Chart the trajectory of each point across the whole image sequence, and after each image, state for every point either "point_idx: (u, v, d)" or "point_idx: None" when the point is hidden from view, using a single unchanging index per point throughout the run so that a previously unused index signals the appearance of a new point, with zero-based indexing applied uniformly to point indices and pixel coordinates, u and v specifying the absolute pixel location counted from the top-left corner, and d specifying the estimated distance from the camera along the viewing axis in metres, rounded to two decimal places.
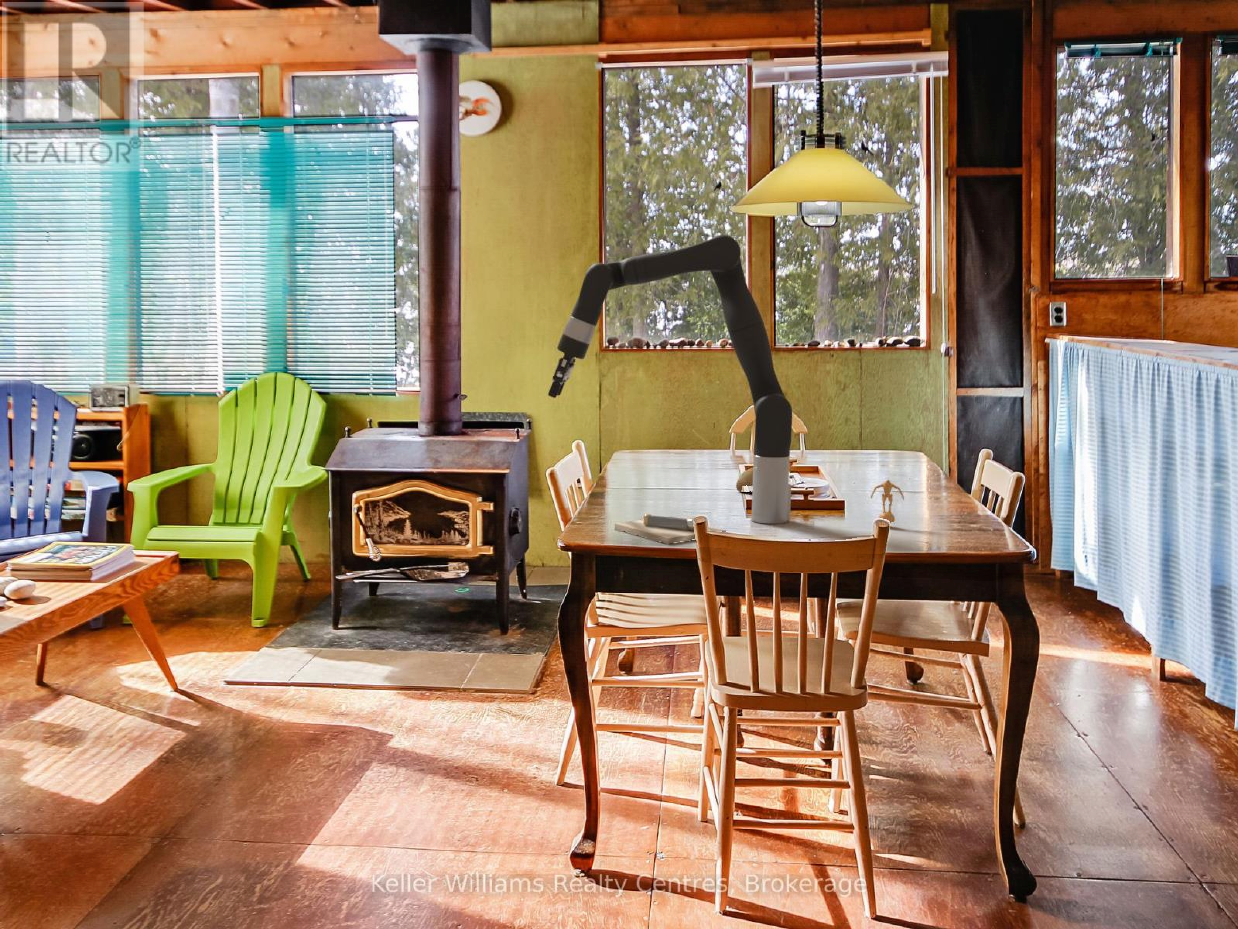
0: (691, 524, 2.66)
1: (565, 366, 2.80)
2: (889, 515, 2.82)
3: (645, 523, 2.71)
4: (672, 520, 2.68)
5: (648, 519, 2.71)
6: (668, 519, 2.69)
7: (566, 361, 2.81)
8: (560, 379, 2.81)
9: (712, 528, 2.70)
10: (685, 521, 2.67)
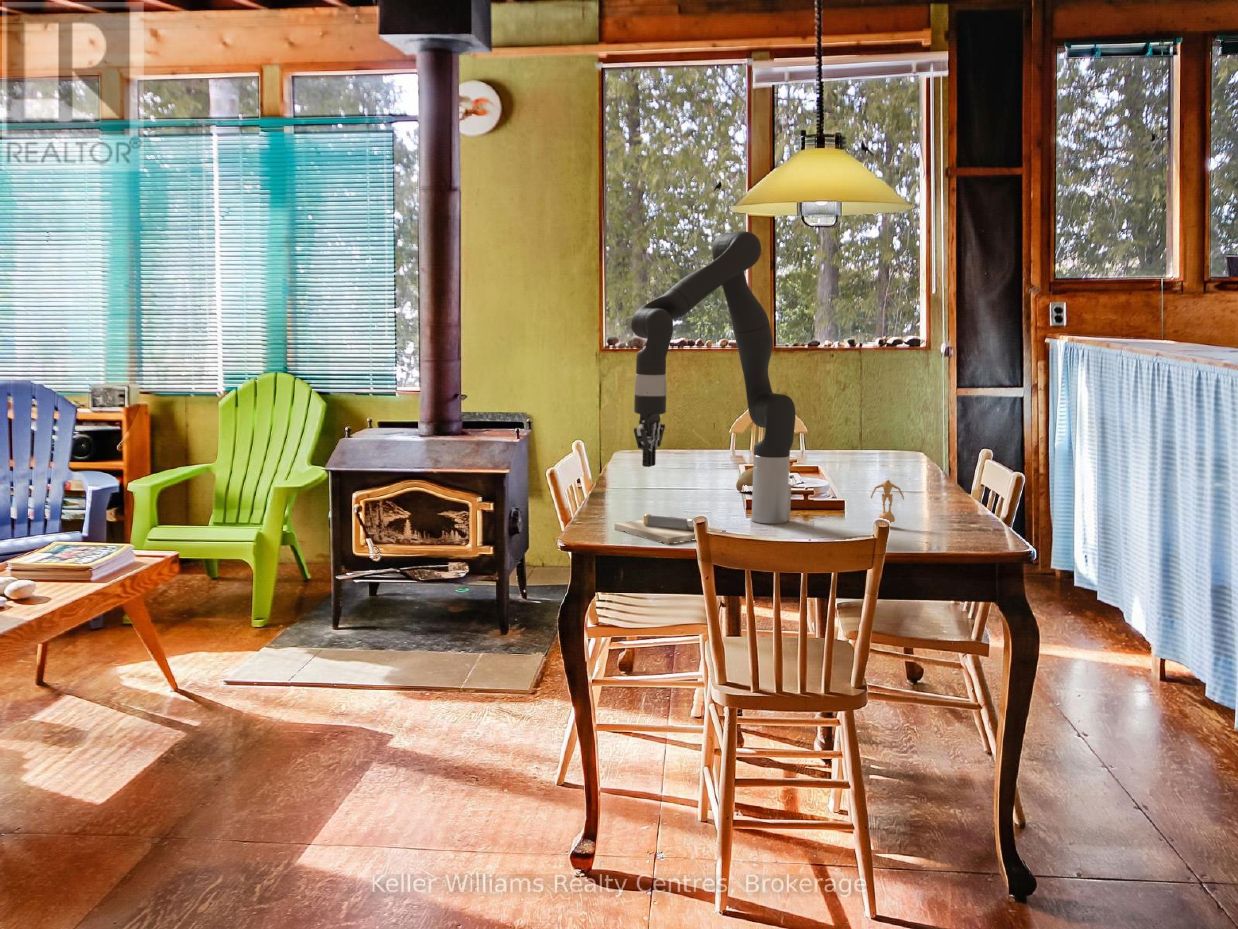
0: (691, 524, 2.66)
1: (642, 435, 2.59)
2: (889, 515, 2.82)
3: (645, 523, 2.71)
4: (672, 520, 2.68)
5: (648, 519, 2.71)
6: (668, 519, 2.69)
7: (640, 430, 2.58)
8: (645, 447, 2.61)
9: (712, 528, 2.70)
10: (685, 521, 2.67)
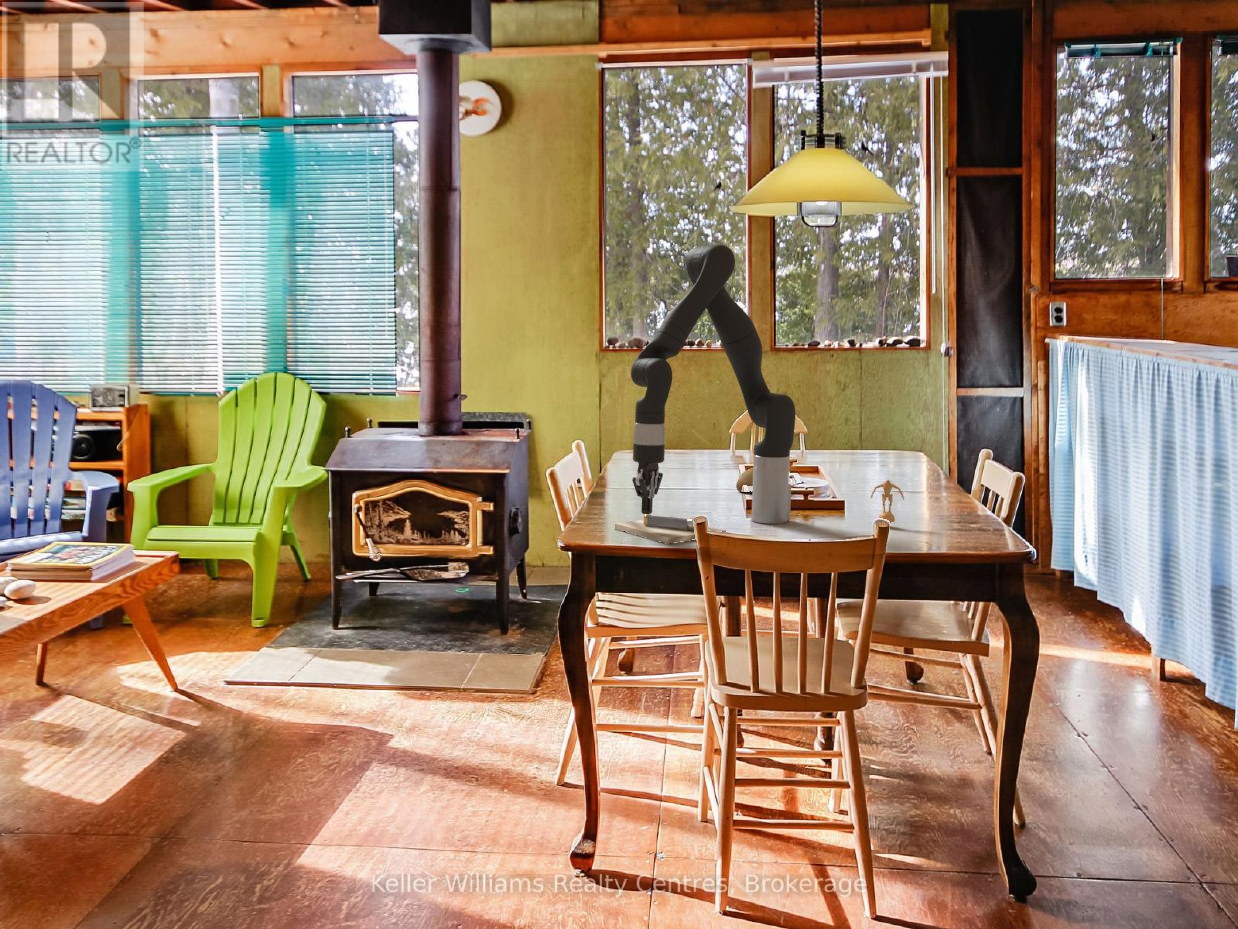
0: (691, 524, 2.66)
1: (640, 485, 2.61)
2: (889, 515, 2.82)
3: (645, 523, 2.71)
4: (672, 520, 2.68)
5: (648, 519, 2.71)
6: (668, 519, 2.69)
7: (639, 480, 2.60)
8: (644, 495, 2.63)
9: (712, 528, 2.70)
10: (685, 521, 2.67)
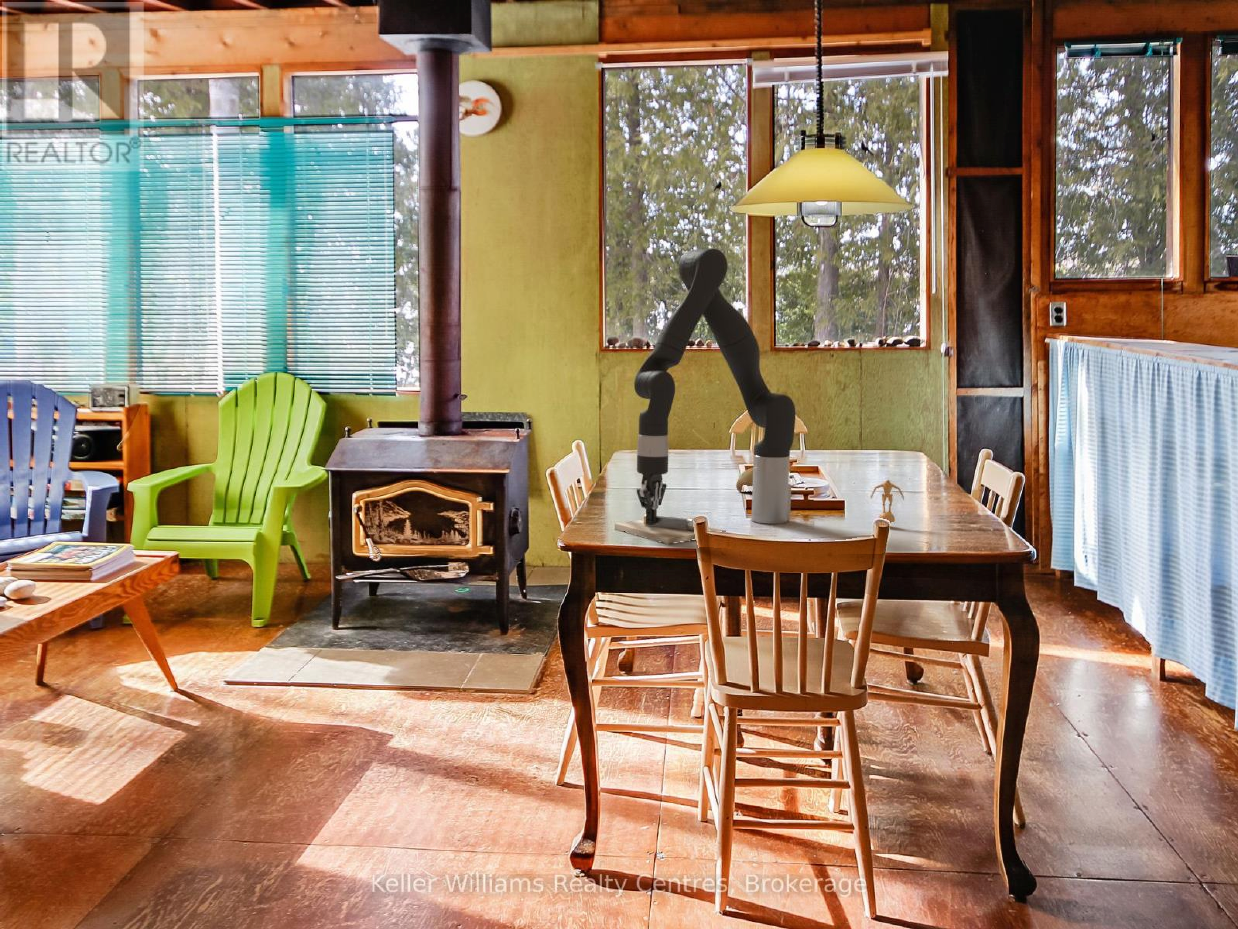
0: (691, 524, 2.66)
1: (645, 496, 2.63)
2: (889, 515, 2.82)
3: (645, 523, 2.71)
4: (672, 520, 2.68)
5: None
6: (668, 519, 2.69)
7: (643, 492, 2.62)
8: (648, 507, 2.65)
9: (712, 528, 2.70)
10: (685, 521, 2.67)
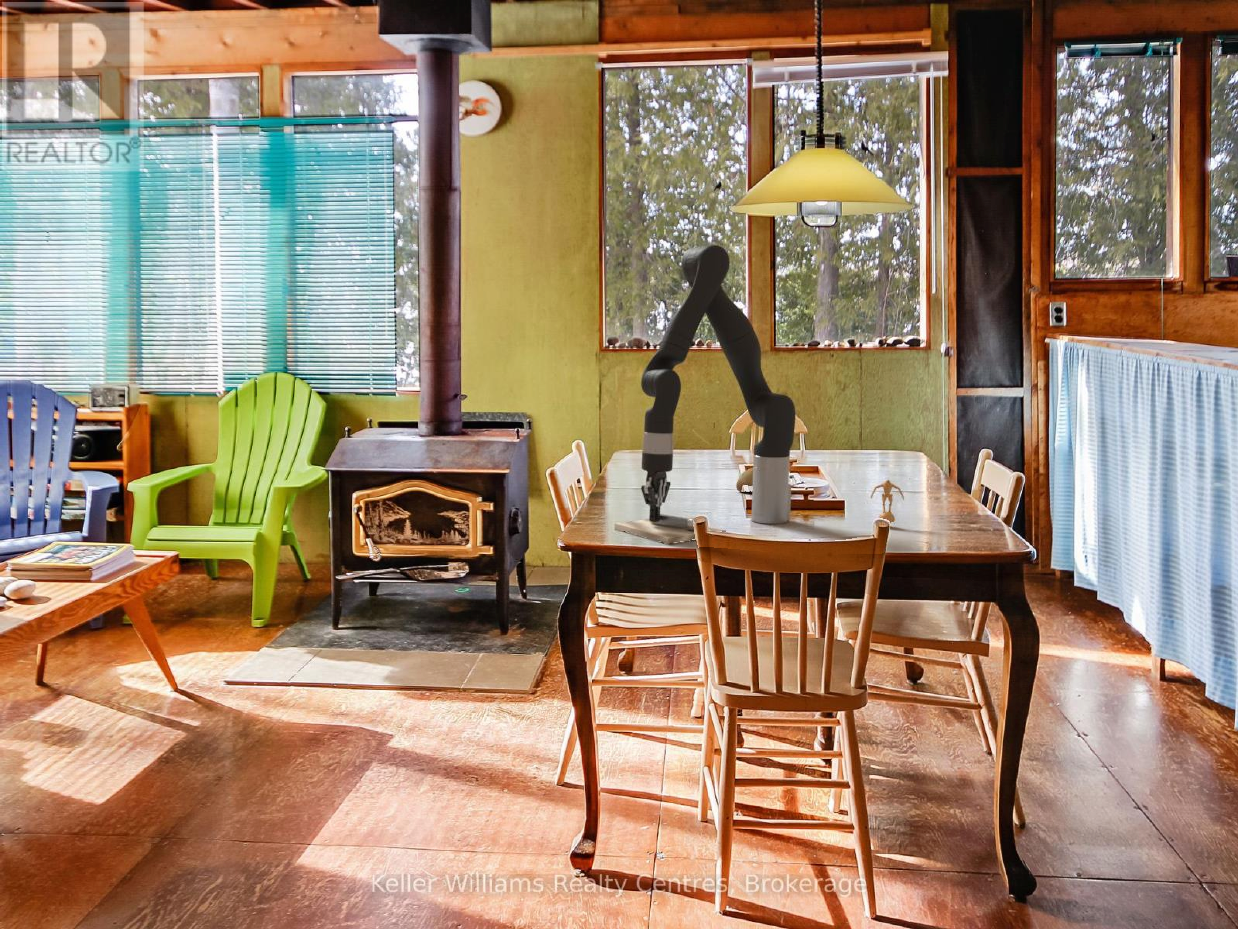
0: (689, 524, 2.66)
1: (649, 493, 2.66)
2: (889, 515, 2.82)
3: None
4: (674, 519, 2.70)
5: None
6: (671, 518, 2.70)
7: (647, 488, 2.65)
8: (652, 503, 2.68)
9: (712, 528, 2.70)
10: (685, 521, 2.68)
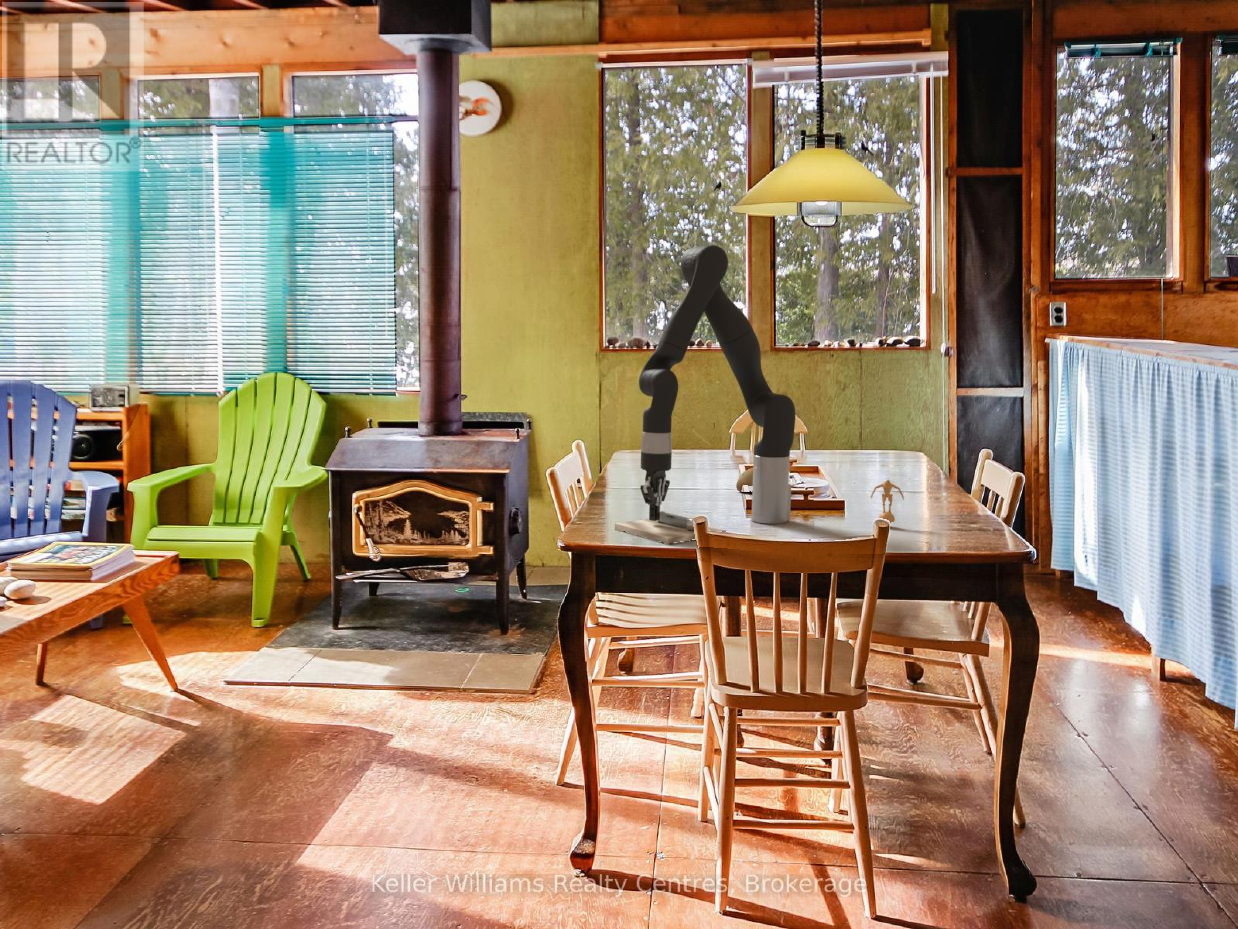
0: (688, 523, 2.66)
1: (648, 493, 2.67)
2: (889, 515, 2.82)
3: None
4: (677, 518, 2.71)
5: (660, 515, 2.76)
6: (674, 517, 2.71)
7: (647, 488, 2.67)
8: (652, 503, 2.70)
9: (712, 528, 2.70)
10: (686, 520, 2.68)
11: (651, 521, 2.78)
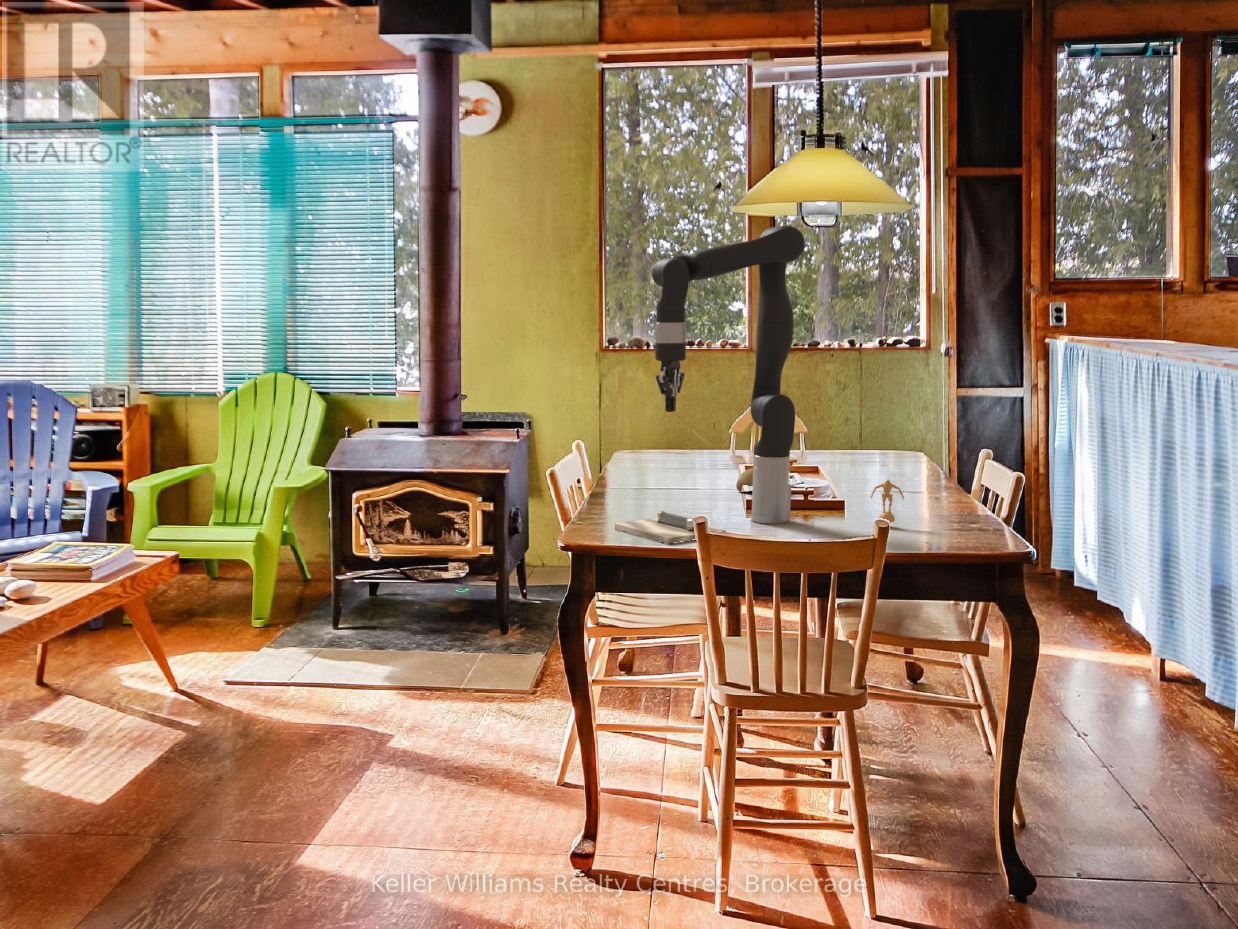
0: (688, 523, 2.66)
1: (664, 382, 2.68)
2: (889, 515, 2.82)
3: (658, 519, 2.76)
4: (677, 518, 2.71)
5: (660, 515, 2.76)
6: (674, 517, 2.71)
7: (662, 377, 2.68)
8: (668, 393, 2.71)
9: (712, 528, 2.70)
10: (686, 520, 2.68)
11: (651, 521, 2.78)
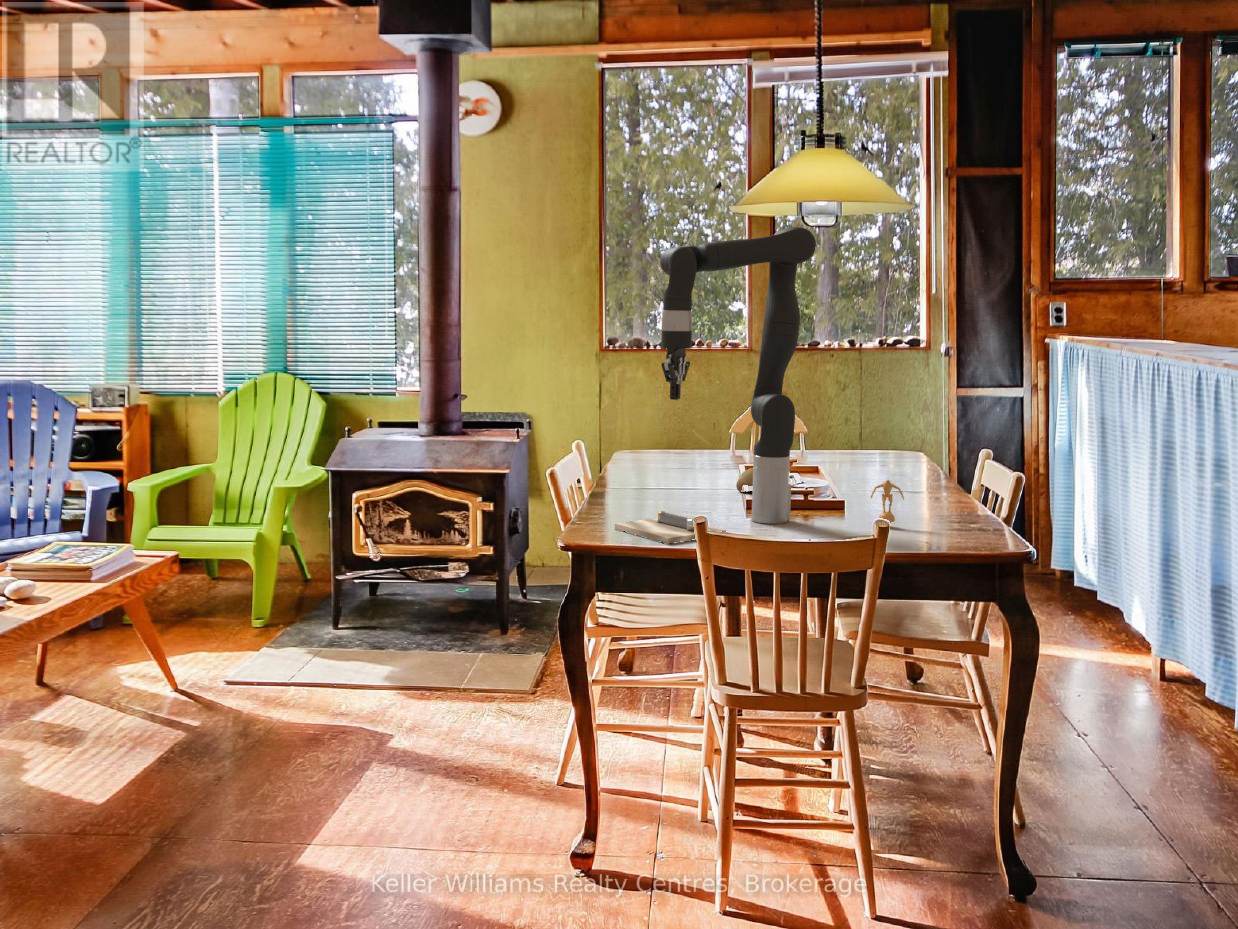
0: (688, 523, 2.66)
1: (669, 369, 2.70)
2: (889, 515, 2.82)
3: (658, 519, 2.76)
4: (677, 518, 2.71)
5: (660, 515, 2.76)
6: (674, 517, 2.71)
7: (668, 364, 2.69)
8: (673, 380, 2.72)
9: (712, 528, 2.70)
10: (686, 520, 2.68)
11: (651, 521, 2.78)
